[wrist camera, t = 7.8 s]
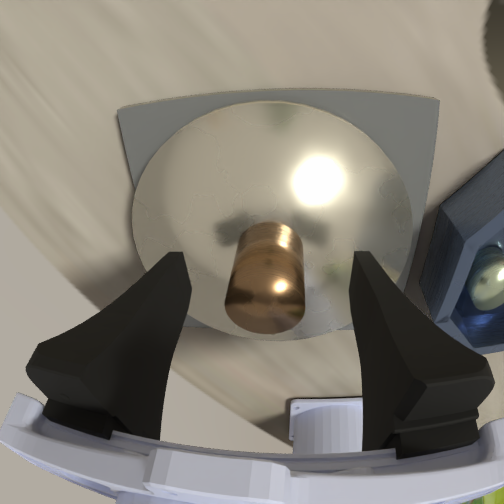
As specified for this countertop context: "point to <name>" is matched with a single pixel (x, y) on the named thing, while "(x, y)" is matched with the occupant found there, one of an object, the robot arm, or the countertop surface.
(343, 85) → the countertop surface
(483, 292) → the tin
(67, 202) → the countertop surface
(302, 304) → the lid
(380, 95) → the coaster
